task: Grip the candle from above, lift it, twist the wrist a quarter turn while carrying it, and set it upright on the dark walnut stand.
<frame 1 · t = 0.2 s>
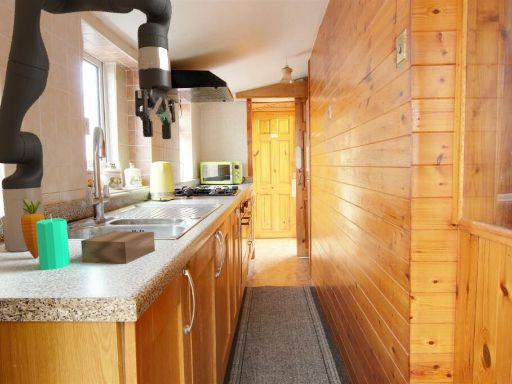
hand: (158, 138, 85), 29 cm above the counter, tool pointing down, fingers open, 8 cm apart
carrot: (36, 258, 87), on the counter
walnut stand: (120, 255, 86), on the counter
candle: (55, 266, 79), on the counter
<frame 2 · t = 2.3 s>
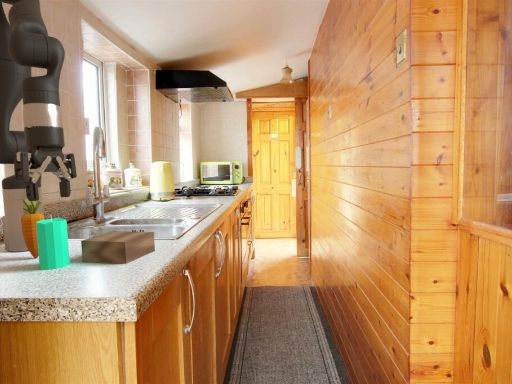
hand: (50, 199, 78), 15 cm above the counter, tool pointing down, fingers open, 8 cm apart
nothing on the counter moved.
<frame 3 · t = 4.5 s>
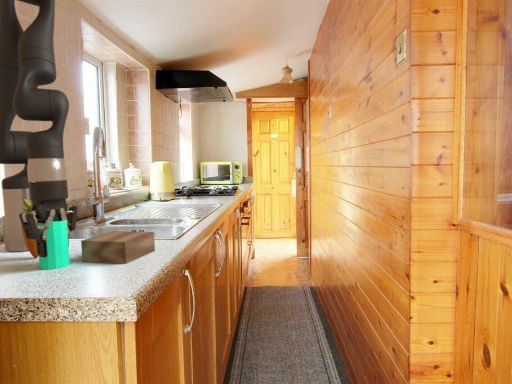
hand: (54, 253, 79), 3 cm above the counter, tool pointing down, fingers closed on candle, 4 cm apart
candle: (55, 266, 79), on the counter, touching gripper
everything else where it was.
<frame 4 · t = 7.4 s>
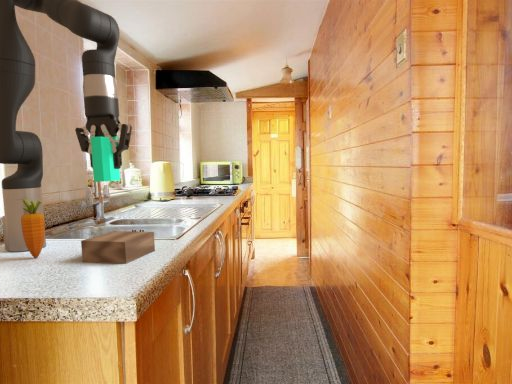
hand: (106, 168, 83), 22 cm above the counter, tool pointing down, fingers closed on candle, 4 cm apart
candle: (107, 181, 83), point 19 cm above the counter, touching gripper
everything else where it was.
when the fingers open (9 cm above the counter, at t = 10.7 s): candle drops 1 cm, resting on walnut stand.
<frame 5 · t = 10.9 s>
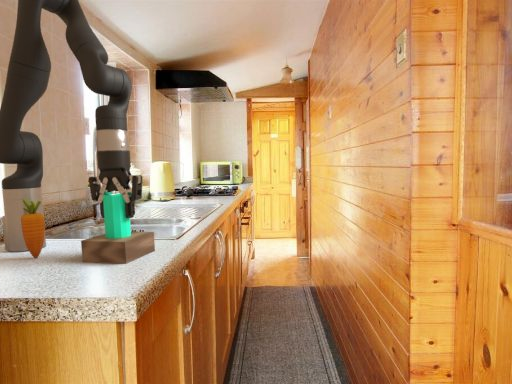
hand: (117, 217, 86), 10 cm above the counter, tool pointing down, fingers open, 6 cm apart
candle: (118, 236, 86), point 5 cm above the counter, touching walnut stand
everything else where it was.
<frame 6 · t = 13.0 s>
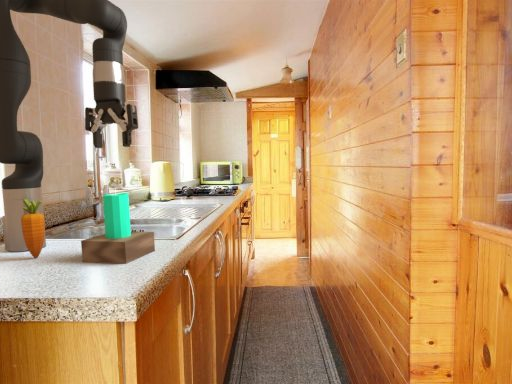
hand: (112, 147, 89), 27 cm above the counter, tool pointing down, fingers open, 8 cm apart
nothing on the counter moved.
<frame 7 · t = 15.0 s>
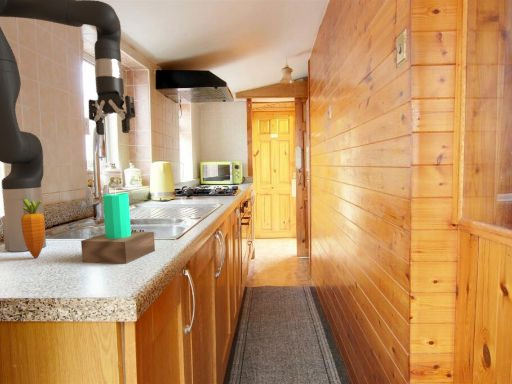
hand: (113, 133, 103), 32 cm above the counter, tool pointing down, fingers open, 8 cm apart
nothing on the counter moved.
at the end: candle inside the target area on the walnut stand (0.1 cm from its centre), point 4.8 cm above the walnut stand's base; candle tilted 0°; the gripper is holding nothing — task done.
